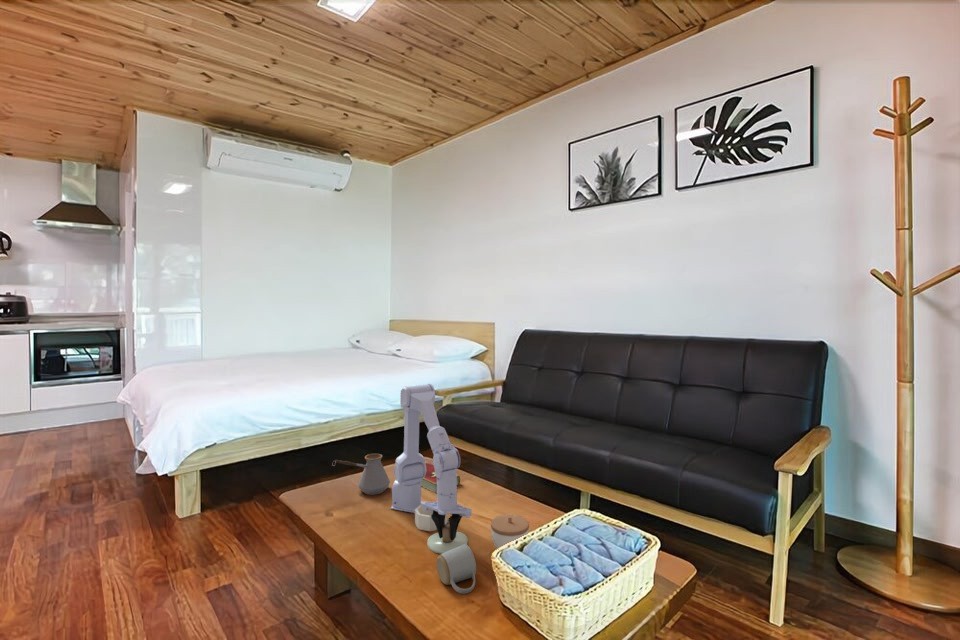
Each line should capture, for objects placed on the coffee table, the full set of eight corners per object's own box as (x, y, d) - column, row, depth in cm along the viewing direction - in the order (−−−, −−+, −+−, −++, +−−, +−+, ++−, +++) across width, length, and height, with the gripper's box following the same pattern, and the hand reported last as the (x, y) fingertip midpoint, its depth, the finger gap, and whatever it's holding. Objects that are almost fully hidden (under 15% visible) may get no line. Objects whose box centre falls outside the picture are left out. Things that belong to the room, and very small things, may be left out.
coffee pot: (380, 481, 181) (380, 443, 180) (395, 491, 172) (395, 451, 171) (327, 497, 167) (326, 456, 166) (340, 508, 158) (339, 464, 157)
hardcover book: (427, 471, 193) (427, 461, 193) (460, 485, 178) (460, 474, 177) (402, 478, 185) (402, 468, 185) (435, 494, 169) (435, 483, 169)
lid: (420, 549, 131) (419, 532, 131) (438, 530, 142) (438, 514, 142) (457, 557, 127) (457, 540, 127) (473, 537, 138) (473, 521, 138)
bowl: (410, 527, 144) (410, 513, 144) (425, 514, 153) (424, 501, 153) (437, 532, 141) (437, 518, 140) (451, 519, 149) (450, 505, 149)
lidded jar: (527, 562, 124) (527, 527, 124) (487, 558, 127) (487, 524, 126) (531, 541, 135) (530, 509, 135) (494, 538, 137) (494, 507, 137)
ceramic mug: (434, 576, 118) (434, 547, 118) (462, 566, 123) (462, 538, 122) (454, 600, 109) (454, 568, 109) (484, 588, 113) (483, 558, 113)
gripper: (417, 493, 133) (418, 539, 133) (464, 500, 128) (465, 549, 128) (429, 484, 139) (430, 528, 140) (474, 490, 134) (474, 536, 135)
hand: (447, 537), depth 135 cm, fingers closed on lid, 3 cm apart
